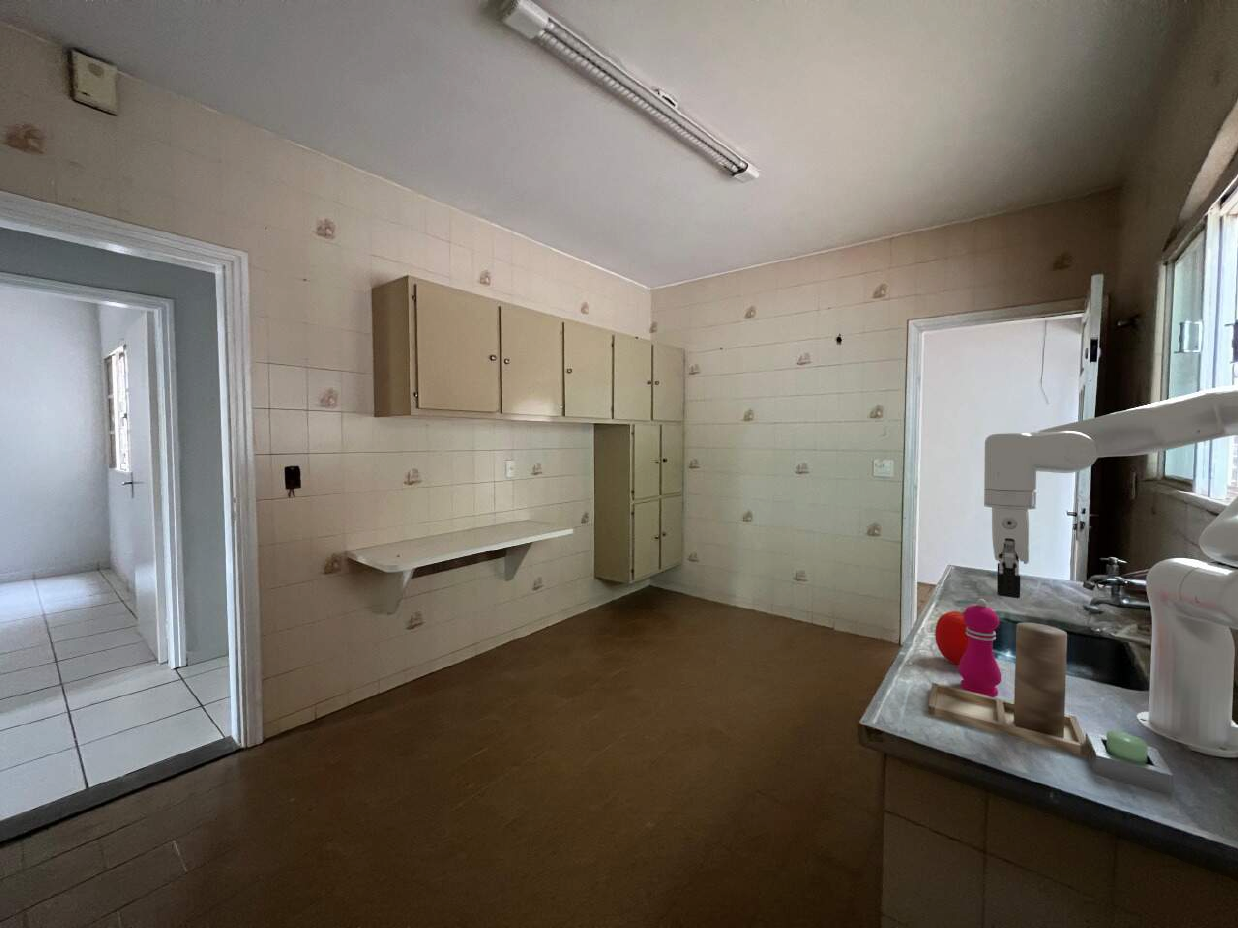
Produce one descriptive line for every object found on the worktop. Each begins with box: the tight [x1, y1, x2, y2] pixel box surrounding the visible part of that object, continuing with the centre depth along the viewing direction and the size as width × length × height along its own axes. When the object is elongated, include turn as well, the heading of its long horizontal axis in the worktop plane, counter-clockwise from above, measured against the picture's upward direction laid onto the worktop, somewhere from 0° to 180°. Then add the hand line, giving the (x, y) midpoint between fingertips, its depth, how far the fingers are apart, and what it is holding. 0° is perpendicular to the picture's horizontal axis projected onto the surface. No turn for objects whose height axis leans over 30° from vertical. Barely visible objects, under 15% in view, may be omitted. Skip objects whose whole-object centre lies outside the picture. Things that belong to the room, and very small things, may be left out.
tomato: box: [934, 610, 968, 667], centre depth 115 cm, size 11×11×13 cm
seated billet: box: [1013, 622, 1068, 738], centre depth 87 cm, size 7×7×18 cm
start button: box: [1106, 730, 1149, 764], centre depth 76 cm, size 4×4×4 cm
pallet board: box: [928, 682, 1089, 758], centre depth 90 cm, size 22×12×2 cm, turn 55°
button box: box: [1085, 730, 1174, 797], centre depth 76 cm, size 8×8×4 cm
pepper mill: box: [958, 598, 1002, 698], centre depth 101 cm, size 7×7×20 cm
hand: (1008, 590), depth 91 cm, fingers open, 9 cm apart
